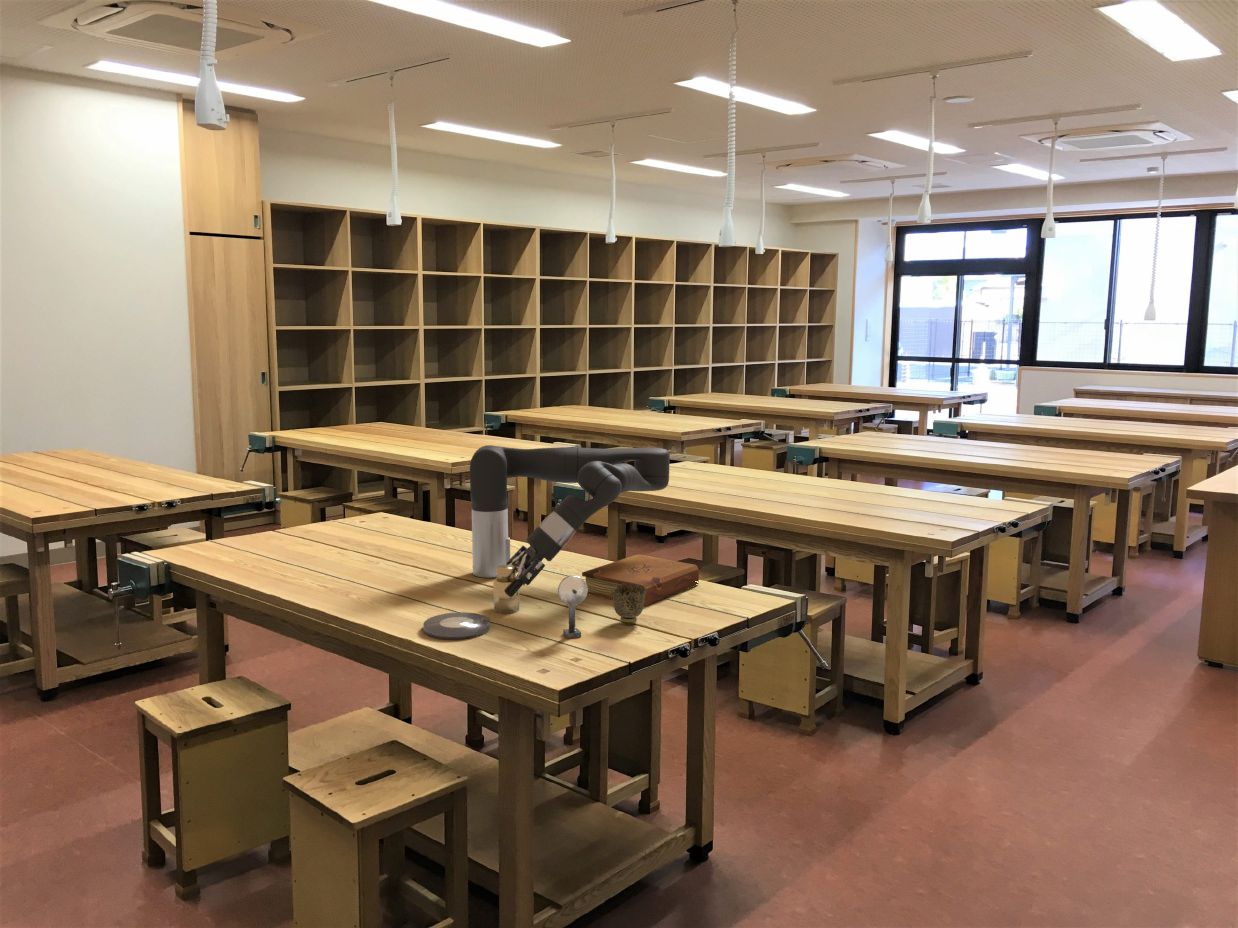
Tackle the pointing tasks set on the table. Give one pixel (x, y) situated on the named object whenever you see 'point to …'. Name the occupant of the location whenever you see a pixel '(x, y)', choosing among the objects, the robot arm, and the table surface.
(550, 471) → the robot arm
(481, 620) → the turntable
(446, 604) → the table surface
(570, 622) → the dial gauge
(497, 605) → the weight
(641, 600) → the cup
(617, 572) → the diary
